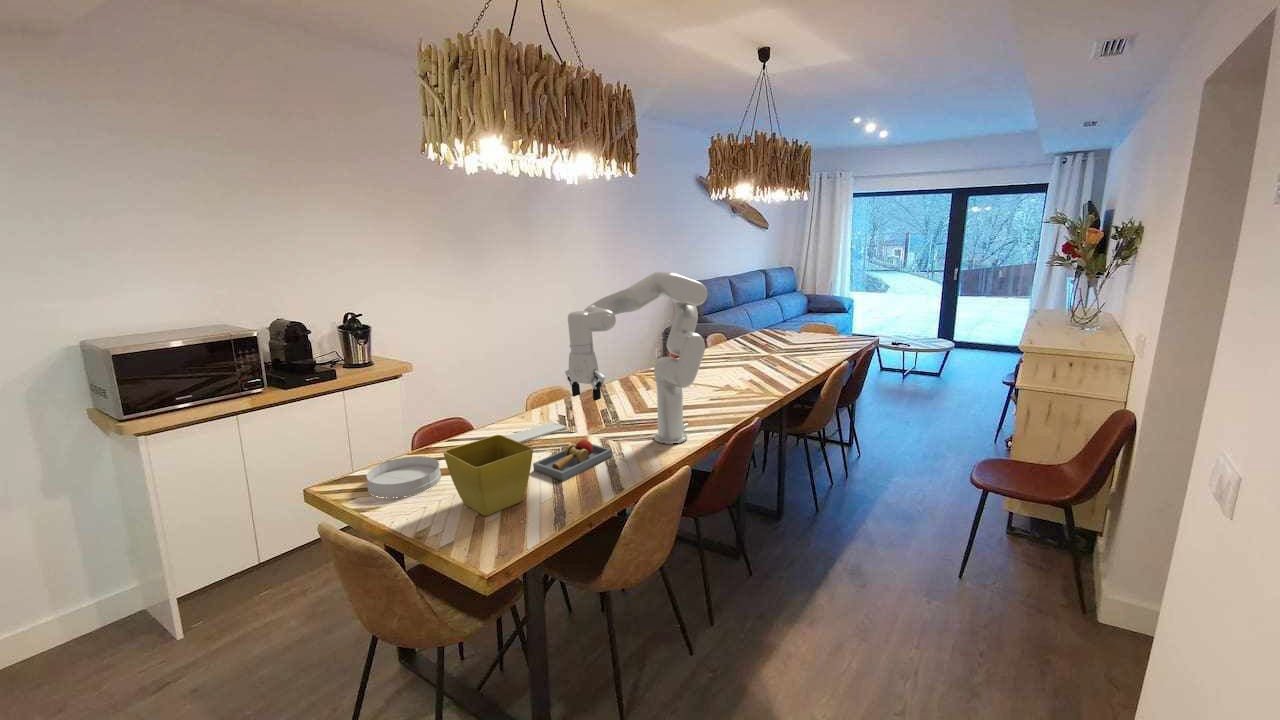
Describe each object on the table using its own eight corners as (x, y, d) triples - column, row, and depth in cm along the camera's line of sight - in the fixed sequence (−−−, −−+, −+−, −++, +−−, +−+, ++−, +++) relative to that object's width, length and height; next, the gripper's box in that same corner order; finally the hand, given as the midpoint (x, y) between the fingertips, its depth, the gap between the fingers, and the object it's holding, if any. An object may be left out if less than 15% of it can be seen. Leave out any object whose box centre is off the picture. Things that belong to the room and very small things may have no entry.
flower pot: (503, 482, 179) (498, 433, 175) (538, 500, 166) (534, 447, 162) (447, 504, 165) (441, 451, 162) (481, 525, 153) (475, 468, 149)
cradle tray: (583, 448, 205) (582, 441, 204) (612, 456, 197) (611, 449, 196) (533, 471, 187) (533, 463, 186) (563, 481, 178) (562, 473, 178)
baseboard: (483, 443, 215) (498, 451, 206) (482, 436, 214) (498, 444, 206) (549, 423, 235) (566, 430, 227) (549, 417, 235) (566, 423, 226)
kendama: (567, 478, 182) (600, 452, 195) (562, 460, 180) (595, 436, 194) (550, 477, 186) (583, 452, 200) (545, 460, 185) (578, 436, 199)
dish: (455, 475, 186) (454, 461, 185) (404, 504, 167) (402, 489, 165) (406, 465, 195) (404, 452, 194) (351, 492, 175) (349, 478, 174)
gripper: (555, 348, 188) (560, 397, 192) (593, 353, 177) (598, 404, 182) (571, 344, 194) (576, 391, 198) (609, 348, 183) (613, 397, 187)
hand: (586, 397), depth 190 cm, fingers open, 9 cm apart
